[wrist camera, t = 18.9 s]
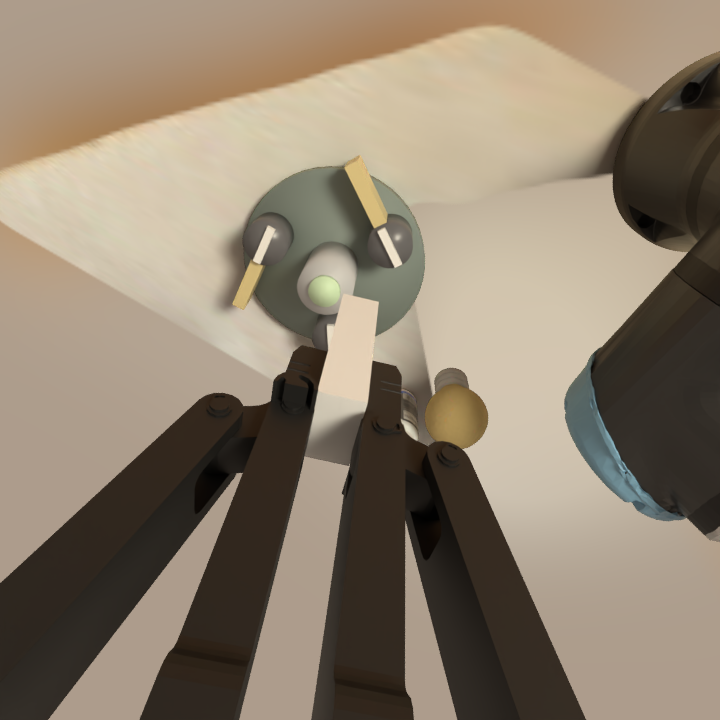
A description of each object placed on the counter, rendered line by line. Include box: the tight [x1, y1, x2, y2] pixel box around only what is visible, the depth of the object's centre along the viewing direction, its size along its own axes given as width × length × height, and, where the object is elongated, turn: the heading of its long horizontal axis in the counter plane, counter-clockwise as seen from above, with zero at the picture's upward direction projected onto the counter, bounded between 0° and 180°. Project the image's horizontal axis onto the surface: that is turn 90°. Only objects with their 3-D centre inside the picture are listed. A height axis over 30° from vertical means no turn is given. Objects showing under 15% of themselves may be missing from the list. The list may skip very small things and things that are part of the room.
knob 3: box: [344, 155, 413, 268], centre depth 39 cm, size 10×4×4 cm, turn 27°
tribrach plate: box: [244, 166, 425, 339], centre depth 42 cm, size 18×18×7 cm
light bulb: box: [425, 368, 488, 449], centre depth 48 cm, size 6×6×10 cm
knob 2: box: [312, 313, 338, 351], centre depth 48 cm, size 10×4×4 cm, turn 1°
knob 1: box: [232, 212, 294, 310], centre depth 43 cm, size 10×4×4 cm, turn 151°
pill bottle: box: [401, 389, 418, 441], centre depth 51 cm, size 5×5×8 cm
